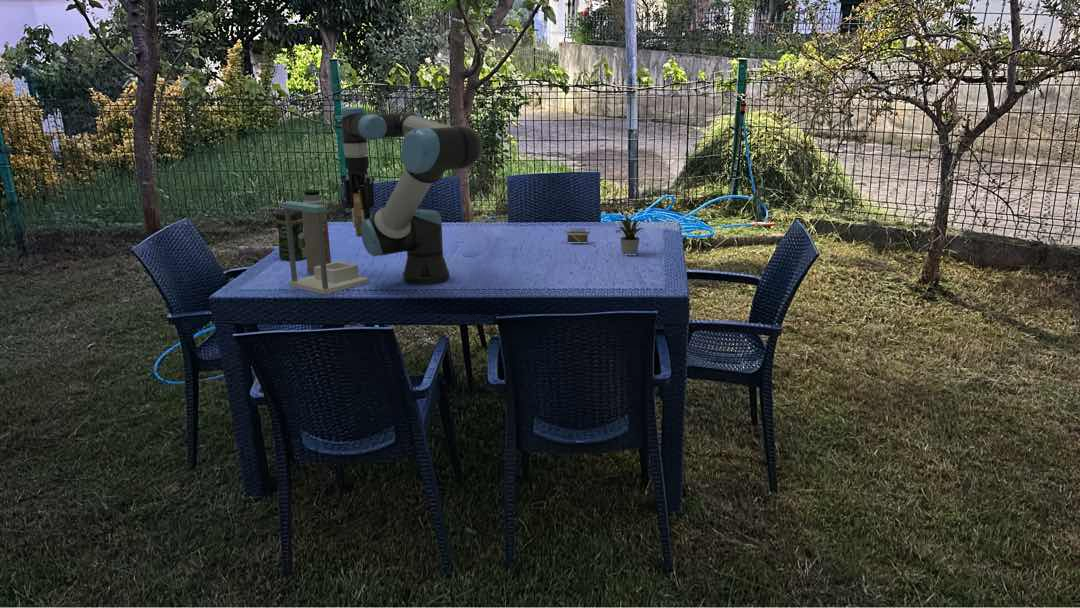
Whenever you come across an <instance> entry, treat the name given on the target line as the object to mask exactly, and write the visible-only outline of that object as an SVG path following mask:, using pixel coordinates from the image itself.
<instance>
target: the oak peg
mask: <svg viewBox="0 0 1080 608" xmlns="http://www.w3.org/2000/svg"><path fill="white" fill-rule="evenodd" d="M353 200H354V212H355V224H356V228H355V234H356V235H355V236H356V237H360V238H362V236H361V224H362V216H361V208H363V207H362V202H361V197H360V192H359V193H353Z"/></svg>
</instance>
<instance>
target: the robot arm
mask: <svg viewBox="0 0 1080 608" xmlns="http://www.w3.org/2000/svg"><path fill="white" fill-rule="evenodd" d="M365 111H366V110H365V108H364V107H363V106H345V107H341V109H340V124H341V130H342V131H341V132H342V141H343V146H342V147H343V155H344V156H345V157H344V168H345V170H347V174H343V175H342V176H341V177H342V181H343V185H344V194H345V204H346V206H349V207H350V209H351V210H350V211H351V216H352V224H353V226H352V227H353V228H354V229H356V224H355V212H354V200H353V193H359V192H360V197H361V202H362V207H363V208H361V216H362V224H361V236H362V237H361V240H362V244H363V246H364V248H365V250H366V251H367V253H368V254H369V255H370V256H372V257H383V256H387V255H394V254H398V253H405V252H406V256H407V257H406V262H405V266H404V271H403V272H402V278H403V279H402V280H403V282H404V283H406V284H411V285H418V286H419V285H421V286H422V285H423V286H424V285H425V286H426V285H435V283H436V284H441V283H443V282H446V281H448V280H450V270H449V268H448V266H447V262H446V260H445V257H444V250H443V249H444V248H443V247H444V246H443V228H442V227H443V223H442V222H443V221H442V217H441V214H440V213H439V211H437V210H432V209H425V208H419V207H420V205H421V203H422V201H423V200H424V198H425V196H426V194H428V193H427V192H428V191H429V189H430V187H431V186H432V185H433V184H436V183H438V182H440V180H441V179H442V178H443V176H444V174H445V173H446V172H447V171H453V170H462V169H468V168H470V167H471V166H473V165H475V163H477V162H478V160H479V159H480V158H481V155H482V153H483V141H482V138H481V136H480V135H479V132H477V131H476V130H475V129H473V128H471V127H468V126H464V125H461V124H460V125H459V124H457V125H453V126H452V125H448V124H445V123H443V122H442V123H441V122H438V121H435V120H431V119H427V118H424V117H423V116H422V114H421V113H419V112H413V111H412V112H411V111H407V112H396V113H395V112H393V113H392V112H391V113H390V112H389V113H366V112H365ZM390 138H391V139H392V138H402V142H401V145H400V146H401V147H400V148H401V151H400V159H401V163H402V165H403V167H404V169H403V170H402V171H403V172H402V173H401V175H400V178H399V179H398V181H397V183H396V185H395V186H394V189H393V191H392V193H391V194H390V196H389V198H388V200H387V202H386V204H385V206H383V207H381V208H379V209H378V210H377V211H376V212H375V214H374V216H373V218H371V208H374V207H375V193H374V192H375V191H374V184H375V183H374V182H375V177H374V176H370V175H369V173H368V170H367V169H368V168H369V166H370V163H369V157H368V154H369V152H368V140H369V141H374V140H380V139H390ZM440 282H441V283H440Z"/></svg>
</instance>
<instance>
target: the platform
mask: <svg viewBox="0 0 1080 608" xmlns="http://www.w3.org/2000/svg"><path fill="white" fill-rule="evenodd" d="M576 230H577V231H576ZM582 230H583V231H582ZM564 234H565V235H567V243H568V242H580V243H581V242H582V243H583V242H587V243H588V235H590V234H591V232H590V231H586V228H580V227H579V228H573V227H572V228H570V231H565V232H564Z"/></svg>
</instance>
